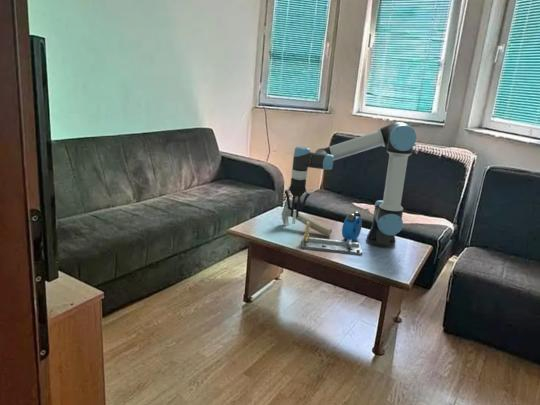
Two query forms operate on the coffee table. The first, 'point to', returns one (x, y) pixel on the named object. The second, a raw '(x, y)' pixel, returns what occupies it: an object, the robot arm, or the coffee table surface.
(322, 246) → the bolt plate
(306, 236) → the sliding leg
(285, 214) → the hammer
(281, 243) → the coffee table surface
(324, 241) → the bar
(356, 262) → the coffee table surface
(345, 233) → the alarm clock
